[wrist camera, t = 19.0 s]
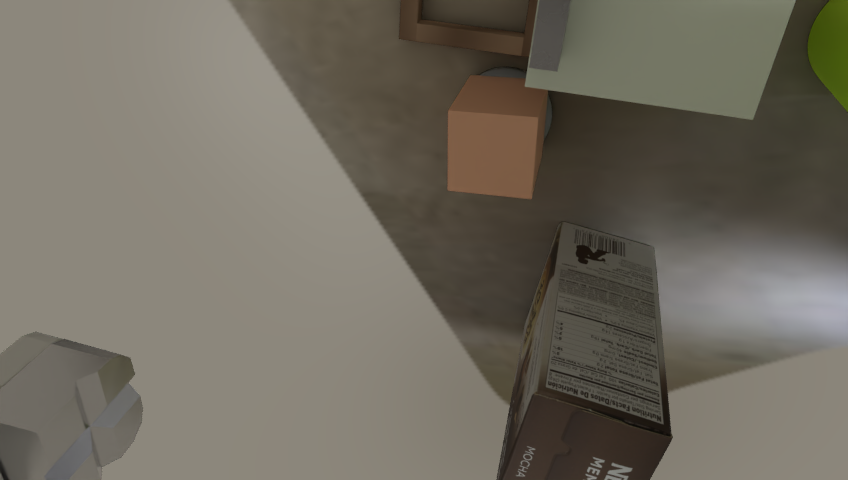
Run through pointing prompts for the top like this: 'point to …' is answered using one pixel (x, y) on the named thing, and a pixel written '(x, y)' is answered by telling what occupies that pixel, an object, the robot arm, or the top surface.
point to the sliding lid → (659, 51)
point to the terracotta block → (496, 137)
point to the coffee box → (590, 366)
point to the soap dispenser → (831, 48)
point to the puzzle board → (464, 32)
